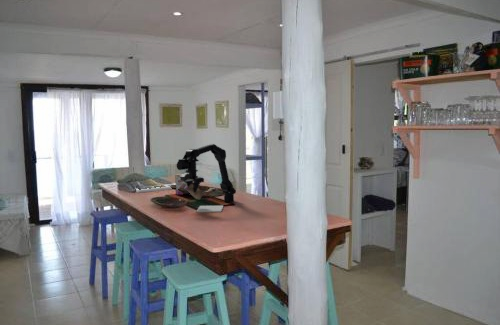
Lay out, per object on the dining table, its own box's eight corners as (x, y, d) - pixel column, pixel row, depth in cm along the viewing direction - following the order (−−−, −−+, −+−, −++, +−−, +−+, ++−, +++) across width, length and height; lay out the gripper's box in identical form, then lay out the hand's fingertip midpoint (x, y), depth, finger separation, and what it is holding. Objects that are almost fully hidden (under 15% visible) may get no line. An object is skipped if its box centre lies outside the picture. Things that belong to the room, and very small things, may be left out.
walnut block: (199, 192, 266) (190, 183, 260) (203, 193, 262) (195, 184, 257) (195, 198, 264) (186, 189, 258) (199, 199, 260) (190, 190, 255)
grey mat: (223, 206, 268) (223, 205, 267) (221, 211, 252) (221, 210, 252) (200, 206, 268) (200, 205, 268) (196, 212, 252) (196, 211, 252)
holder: (137, 193, 327) (137, 190, 327) (132, 190, 343) (131, 187, 342) (187, 188, 350) (187, 185, 350) (180, 185, 365) (180, 182, 365)
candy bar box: (175, 194, 315) (174, 174, 313) (177, 193, 320) (176, 173, 318) (189, 194, 314) (188, 174, 312) (190, 193, 319) (190, 173, 317)
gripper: (173, 168, 258) (174, 191, 260) (190, 170, 245) (190, 195, 247) (187, 167, 266) (188, 189, 268) (204, 169, 253) (204, 192, 254)
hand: (192, 191), depth 259 cm, fingers closed on walnut block, 5 cm apart
